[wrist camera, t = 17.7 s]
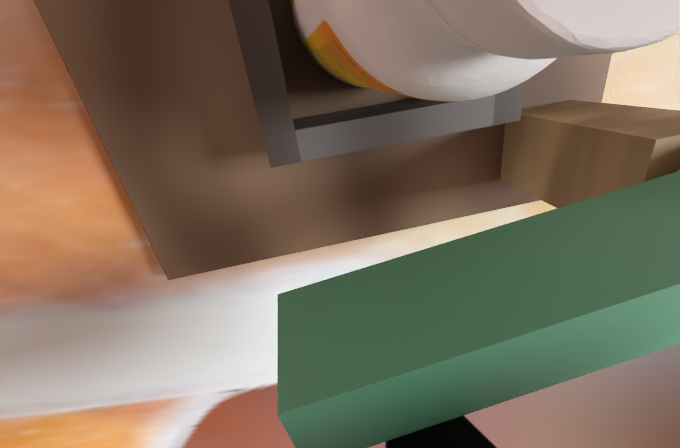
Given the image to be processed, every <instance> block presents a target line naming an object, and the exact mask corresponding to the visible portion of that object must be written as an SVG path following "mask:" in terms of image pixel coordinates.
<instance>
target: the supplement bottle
mask: <svg viewBox="0 0 680 448" xmlns="http://www.w3.org/2000/svg"><path fill="white" fill-rule="evenodd" d="M290 6H291V13H292V17H293V21H294V25H295V28H296V30H297V33H298V35H299V37H300V40H301V42H302V43H303V45H304V47H305V49H306V50H307V52H308V53H309V54H310V56H311V57H312V58H313V59H314V61H315V62H316V63H317V64H318V65H319V66H320V67H321V68H322V69H323V70H325V71H326V72H327V73H328V74H330V75H331V76H333V77H334V78H336V79H338V80H340V81H342V82H345V83H347V84H350V85H353V86H357V87H362V88H368V89H374V90H379V91H384V92H389V93H394V94H399V95H403V96H408V97H413V98H418V99H424V100H433V101H447V102H460V101H467V100H475V99H480V98H484V97H488V96H492V95H495V94H498V93H501V92H503V91H506V90H508V89H510V88H512V87H515V86H517V85H519V84H520V83H522V82H524V81H526V80H528V79H529V78H531V77H532V76H534V75H535V74H537V73H538V72H540V71H541V70H543V69H544V68H546V67H547V66H548V65H549V64H551V63H552V62H553V61H554V60H556V59H557V58H560V57H570V56H581V55H595V54H606V53H614V52H622V51H626V50H631V49H635V48H639V47H643V46H647V45H650V44H653V43H656V42H659V41H662V40H664V39H666V38H668V37H671V36H673V35H675V34H678V33H680V0H290Z"/></svg>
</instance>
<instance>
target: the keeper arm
mask: <svg viewBox="0 0 680 448" xmlns="http://www.w3.org/2000/svg"><path fill="white" fill-rule="evenodd" d="M677 343H680V169H679V171H677V172H674V173H671V174H668V175H664V176H661V177H658V178H655V179H651V180H648V181H645V182H642V183H638V184H635V185H632V186H629V187H626V188H622V189H619V190H616V191H613V192H609V193H606V194H603V195H600V196H596V197H593V198H590V199H587V200H583V201H580V202H577V203H574V204H570V205H567V206H564V207H561V208H557V209H554V210H551V211H548V212H544V213H541V214H538V215H535V216H531V217H528V218H525V219H522V220H518V221H515V222H512V223H509V224H505V225H502V226H499V227H496V228H492V229H489V230H486V231H483V232H479V233H476V234H473V235H470V236H466V237H463V238H460V239H457V240H453V241H450V242H447V243H444V244H440V245H437V246H434V247H431V248H427V249H424V250H421V251H418V252H414V253H411V254H408V255H405V256H401V257H398V258H395V259H392V260H388V261H385V262H382V263H379V264H375V265H372V266H369V267H366V268H362V269H359V270H356V271H353V272H349V273H346V274H343V275H340V276H336V277H333V278H330V279H327V280H323V281H320V282H317V283H314V284H310V285H307V286H304V287H301V288H297V289H294V290H291V291H288V292H284V293H281V294H278V416H279V418H280V420H281V422H282V424H283V425H284V427H285V429H286V431H287V433H288V435H289V436H290V438H291V440H292V442H293V443H294V445H295V447H296V448H367V447H370V446H373V445H376V444H379V443H382V442H385V441H388V440H391V439H394V438H397V437H400V436H403V435H406V434H409V433H412V432H415V431H418V430H421V429H424V428H427V427H430V426H433V425H436V424H439V423H442V422H445V421H448V420H451V419H454V418H457V417H460V416H463V415H465V414H469V413H472V412H475V411H478V410H481V409H483V408H487V407H489V406H493V405H495V404H498V403H502V402H504V401H508V400H510V399H513V398H516V397H519V396H522V395H525V394H528V393H531V392H534V391H537V390H540V389H543V388H546V387H549V386H552V385H555V384H558V383H561V382H564V381H567V380H570V379H573V378H576V377H579V376H582V375H585V374H588V373H591V372H594V371H597V370H600V369H602V368H606V367H609V366H612V365H615V364H618V363H621V362H624V361H627V360H630V359H633V358H636V357H639V356H642V355H644V354H647V353H651V352H653V351H656V350H660V349H662V348H665V347H668V346H672V345H674V344H677Z"/></svg>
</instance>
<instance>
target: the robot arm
mask: <svg viewBox="0 0 680 448" xmlns="http://www.w3.org/2000/svg"><path fill="white" fill-rule="evenodd" d="M385 448H497V447H496V446H495V445H494V444H493V443H492V442H491V441H490V440H488V438H487V437H486V436H485V435H484V434H483V433H482V432H481V431H479V430H478V429H477V428H476V427H475V426H474V425H473V424H472V423H471V422H470V421H469V420H468V419H467V418H466V417H465V416H464V415H463V416H460V417H457V418H454V419H451V420H448V421H445V422H442V423H439V424H436V425H433V426H430V427H427V428H424V429H421V430H418V431H415V432H412V433H409V434H406V435H403V436H400V437H397V438H394V439H391V440H388V441H385Z"/></svg>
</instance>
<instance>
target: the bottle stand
mask: <svg viewBox="0 0 680 448" xmlns="http://www.w3.org/2000/svg"><path fill="white" fill-rule="evenodd" d="M34 1H35V3H36V5H37V7H38V9H39V11H40V13H41V15H42V17H43V20H44V22H45V24H46V26H47V28H48V30H49V32H50V34H51V36H52V38H53V40H54V43H55V45H56V47H57V49H58V51H59V53H60V55H61V57H62V59H63V61H64V63H65V66H66V68H67V70H68V72H69V74H70V76H71V78H72V80H73V82H74V84H75V86H76V89H77V91H78V93H79V95H80V97H81V99H82V101H83V103H84V105H85V107H86V109H87V112H88V114H89V116H90V118H91V120H92V122H93V124H94V126H95V128H96V130H97V132H98V135H99V137H100V139H101V141H102V143H103V145H104V147H105V149H106V151H107V153H108V155H109V158H110V160H111V162H112V164H113V166H114V168H115V170H116V172H117V174H118V176H119V178H120V181H121V183H122V185H123V187H124V189H125V191H126V193H127V195H128V197H129V199H130V201H131V204H132V206H133V208H134V210H135V212H136V214H137V216H138V218H139V220H140V222H141V224H142V227H143V229H144V231H145V233H146V235H147V237H148V239H149V241H150V243H151V245H152V247H153V250H154V252H155V254H156V256H157V258H158V260H159V262H160V264H161V266H162V268H163V270H164V273H165V275H166V277H167V279H168V280H171V279H175V278H180V277H185V276H189V275H194V274H199V273H203V272H208V271H213V270H217V269H222V268H226V267H231V266H236V265H240V264H245V263H250V262H254V261H259V260H264V259H268V258H273V257H278V256H282V255H287V254H292V253H296V252H301V251H306V250H310V249H315V248H320V247H324V246H329V245H334V244H338V243H343V242H347V241H352V240H357V239H361V238H366V237H371V236H375V235H380V234H385V233H389V232H394V231H399V230H403V229H408V228H413V227H417V226H422V225H427V224H431V223H436V222H441V221H445V220H450V219H455V218H459V217H464V216H468V215H473V214H478V213H482V212H487V211H492V210H496V209H501V208H506V207H510V206H515V205H520V204H524V203H529V202H534V201H538V200H542V201H544V202H546V203H548V204H550V205H552V206H554V207H556V208H561V207H564V206H567V205H570V204H574V203H577V202H580V201H583V200H587V199H590V198H593V197H596V196H600V195H603V194H606V193H609V192H613V191H616V190H619V189H622V188H626V187H629V186H632V185H635V184H638V183H642V182H645V181H648V180H651V179H655V178H658V177H661V176H664V175H668V174H671V173H674V172H677V171H679V169H680V111H677V110H667V109H657V108H647V107H637V106H627V105H617V104H607V103H601V102H602V97H603V92H604V88H605V83H606V78H607V74H608V69H609V64H610V59H611V55H612V53H606V54H595V55H581V56H570V57H560V58H557V59H556V60H554V61H553V62H552V63H551V64H549V65H548V66H547V67H546V68H544V69H543V70H541V71H540V72H538V73H537V74H535V75H534V76H532V77H531V78H529V79H528V80H526V81H524V82H522V83H520V84H519V85H517V86H515V87H512V88H510V89H508V90H506V91H503V92H501V93H498V94H495V95H492V96H488V97H484V98H480V99H475V100H467V101H460V102H447V101H433V100H424V99H418V98H413V97H408V96H403V95H399V94H394V93H389V92H384V91H379V90H374V89H368V88H362V87H357V86H353V85H350V84H347V83H345V82H342V81H340V80H338V79H336V78H334V77H333V76H331V75H330V74H328V73H327V72H326V71H325V70H323V69H322V68H321V67H320V66H319V65H318V64H317V63H316V62H315V61H314V59H313V58H312V57H311V56H310V54H309V53H308V52H307V50H306V49H305V47H304V45H303V43H302V42H301V40H300V37H299V35H298V33H297V30H296V28H295V25H294V21H293V17H292V13H291V6H290V0H34Z"/></svg>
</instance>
